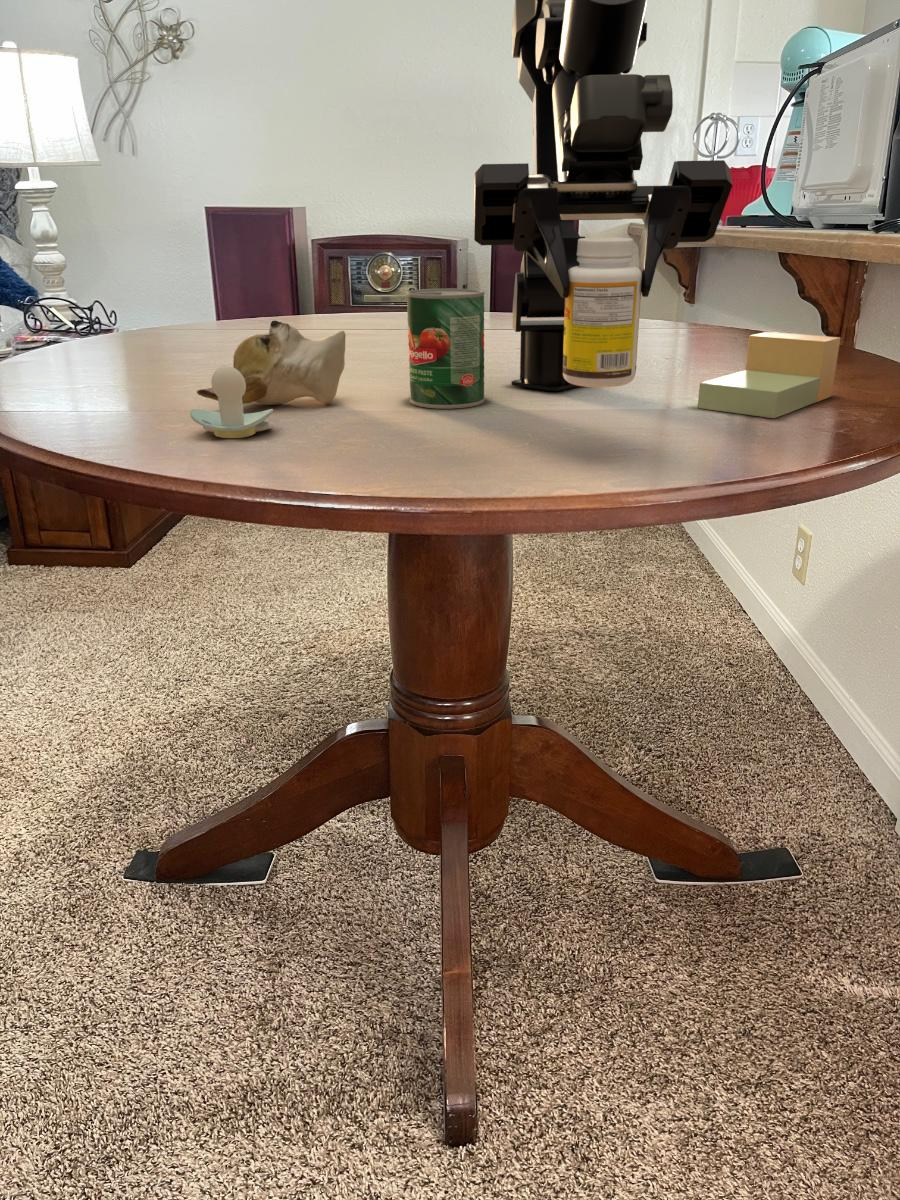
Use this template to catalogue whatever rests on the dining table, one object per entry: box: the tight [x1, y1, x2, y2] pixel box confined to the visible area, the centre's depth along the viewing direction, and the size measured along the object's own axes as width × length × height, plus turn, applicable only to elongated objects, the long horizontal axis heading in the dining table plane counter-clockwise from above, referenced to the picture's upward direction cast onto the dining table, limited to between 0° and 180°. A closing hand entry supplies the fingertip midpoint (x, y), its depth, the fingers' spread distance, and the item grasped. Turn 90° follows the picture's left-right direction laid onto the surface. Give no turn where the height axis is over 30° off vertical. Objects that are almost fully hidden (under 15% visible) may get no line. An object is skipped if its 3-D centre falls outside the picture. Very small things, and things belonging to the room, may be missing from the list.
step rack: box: [697, 331, 841, 419], centre depth 90 cm, size 8×14×6 cm, turn 138°
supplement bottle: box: [563, 237, 642, 388], centre depth 66 cm, size 6×6×10 cm
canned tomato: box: [405, 287, 486, 410], centre depth 91 cm, size 8×8×11 cm
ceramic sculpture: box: [196, 320, 347, 406], centre depth 92 cm, size 11×9×15 cm
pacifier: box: [189, 365, 274, 439], centre depth 80 cm, size 7×6×6 cm
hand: (605, 293), depth 64 cm, fingers closed on supplement bottle, 5 cm apart
